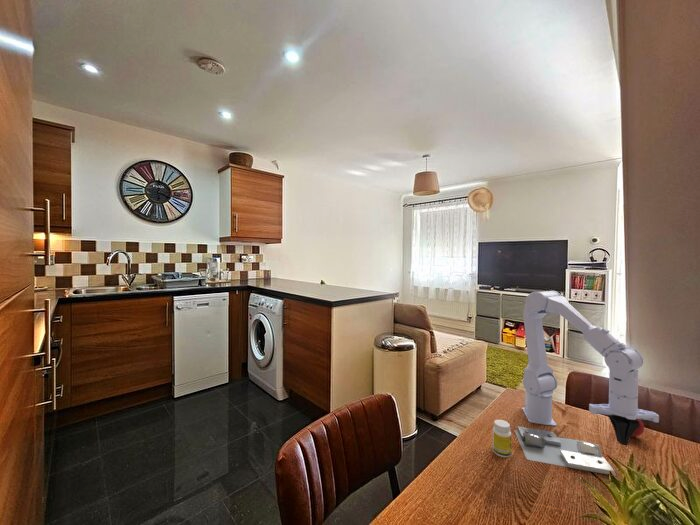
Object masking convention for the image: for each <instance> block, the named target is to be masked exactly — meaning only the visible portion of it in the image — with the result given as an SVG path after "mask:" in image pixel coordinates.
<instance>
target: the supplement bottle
mask: <svg viewBox="0 0 700 525" xmlns="http://www.w3.org/2000/svg"><path fill="white" fill-rule="evenodd" d="M491 447H492V452H493V453H494V454H495V455H496V456H498V457H501V458H509V457H511V456H512V432H511V425H510V423H509V422H508V421H506V420H503V419H495V420H494V423H493V427H492V446H491Z"/></svg>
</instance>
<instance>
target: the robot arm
mask: <svg viewBox="0 0 700 525" xmlns="http://www.w3.org/2000/svg"><path fill="white" fill-rule="evenodd" d="M524 301H525V306H524V308H523V312H522V316H523V324H524V334H525V342H526V351H527V359H528V364H527V365H526V367H525V368H524V370H523V378H522V385H523V388H524V389H525V395H524V407H521V410H522V409H523V410H522V411H523V413H524V415H525V417H526V419H527V420H528V422H529V423H533V424H538V425H539V424H540V425H545V426H554V427H557V422H555V420H554V419H553V394H554V390H556V389H557V388H558V380H557V378H556V376H555V374H554V369H553V368H552V367H551V366H550V365H549V364H548V357H547V348H546V342H545V335H544V334H545V333H544V327H543V318H544V317H545V316H546V315H547V314H549V313H551V314H557V315H560V316H561V317H563V318H564V319H565V320H566V321H568V323H570V324H571V325H573V326H574V327H575V328H576V329H577V330H579V331H580V332H581V333H582V338H583V340H584V341H585V342H586V343H587V344H589V346H591V347H592V349H594V350H595V351H596V352H598V353H599V354H600V355H601V356H602V357H603V359H604V362H605V364H606V366H607V367H608V370H609V372H608V373H609V374H608V376H609V381H608V382H609V383H608V403H599V404H598V403H597V404H596V403H595V404H594V403H589V404H588V411H589V412H590V413H591V414H592V415H606V416H607V417H608V419H609V421H610V423H611V425H612V427H613V430H614V433H615V435H616V436H615V438H616V441H617V442H618V443H619V444H620V445H622V446H628V445H629V441H630V439H631V438H632V437H631V436H632V434H633V433H634V431H635V430H636V429H637V428H639V426H640V423H639V422H638V421H637V419H640V420H643V421H644V420H646V421H652V422H653V423H659V422H660V415H659V414H658V413H656V412H654V411H651V410H650V411H649V410H645V409H642V408H641V409H640V408H639V406H638V404H639V370H638V369H640V368H641V367H642V366H643V364H644V359H643V357H642V355H641V354H640V353H639V352H638V350H636V349H635V348H633V347H630V346H629V347H628V346H626V344H625V343H623V342H620V341H619V340H618V339H616V337H614V336H613V335H612V334H610V330H609V329H608V328H604V327H602V326H599V325H593V324H592V323H591V322H590V321H589V320H588V319H587V318H586V317H585V316H584V315H582V313H580V312H579V311H578V310H577V309H576V308H575V307H573V305H572V304H571V303H569V301H568V299H567V298H566V297H565V296H563V295H561V293H559V291H556V290H546V291H545V290H544V291H532V292H530V293H529V294H528V295H527V296H525V297H524Z"/></svg>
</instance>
